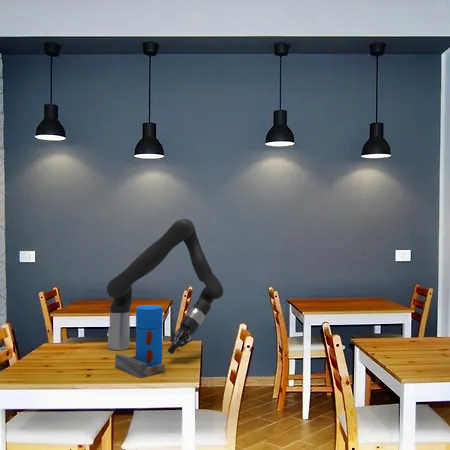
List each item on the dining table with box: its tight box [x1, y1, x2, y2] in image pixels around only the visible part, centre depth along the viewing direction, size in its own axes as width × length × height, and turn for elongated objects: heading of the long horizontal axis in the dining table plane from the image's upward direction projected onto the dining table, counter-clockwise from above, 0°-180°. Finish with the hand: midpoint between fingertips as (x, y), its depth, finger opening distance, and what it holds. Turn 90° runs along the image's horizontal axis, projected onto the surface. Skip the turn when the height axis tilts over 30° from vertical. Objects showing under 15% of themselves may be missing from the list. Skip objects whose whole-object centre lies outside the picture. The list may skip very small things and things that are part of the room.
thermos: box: [135, 304, 164, 367], centre depth 221 cm, size 11×11×25 cm
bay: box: [114, 353, 166, 379], centre depth 218 cm, size 12×19×5 cm, turn 41°
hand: (169, 352), depth 227 cm, fingers closed
